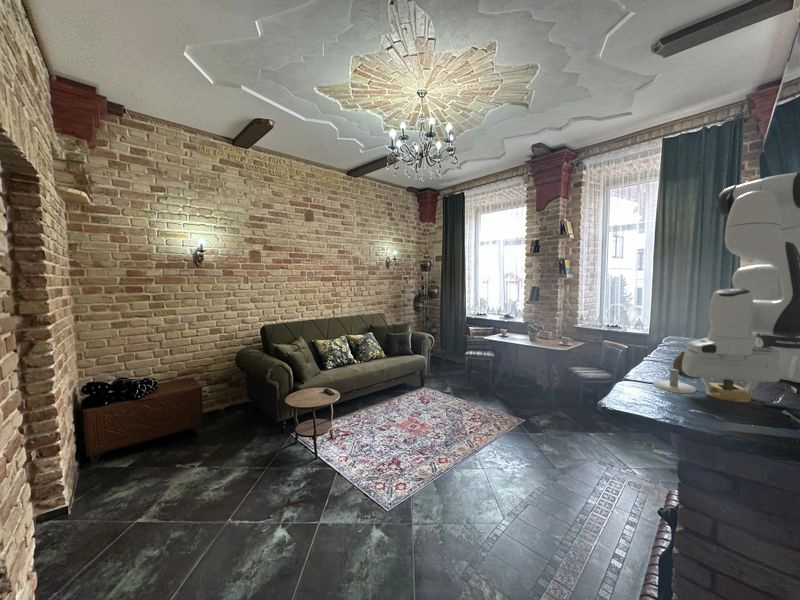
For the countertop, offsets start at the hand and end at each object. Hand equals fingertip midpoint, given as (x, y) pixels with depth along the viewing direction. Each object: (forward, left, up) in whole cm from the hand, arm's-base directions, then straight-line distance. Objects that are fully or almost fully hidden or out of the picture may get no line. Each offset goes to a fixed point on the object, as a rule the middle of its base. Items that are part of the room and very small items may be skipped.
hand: (727, 393), depth 90 cm
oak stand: (0, 0, -2) cm, 2 cm away
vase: (+1, -23, -2) cm, 23 cm away
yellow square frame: (0, 0, -1) cm, 1 cm away
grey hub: (+11, -4, -2) cm, 12 cm away
